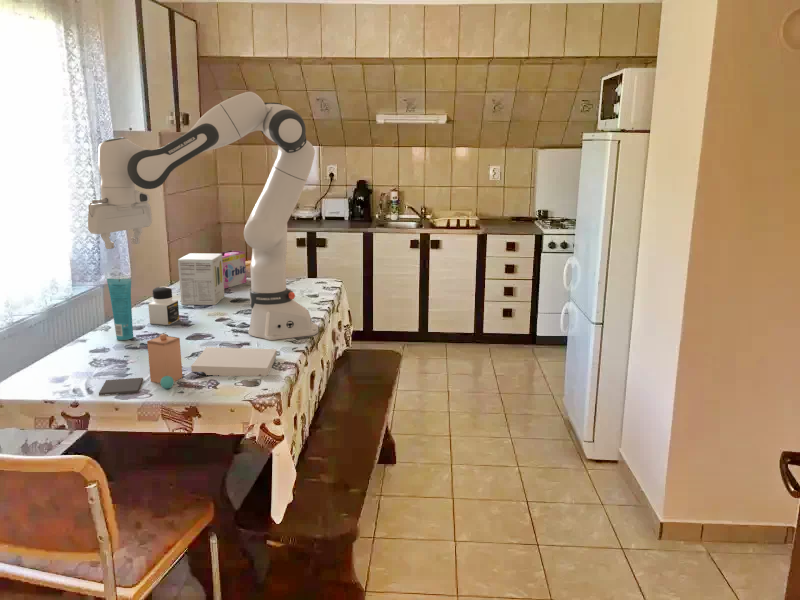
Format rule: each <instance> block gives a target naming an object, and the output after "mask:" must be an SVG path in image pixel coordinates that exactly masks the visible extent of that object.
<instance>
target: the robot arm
mask: <svg viewBox="0 0 800 600" xmlns="http://www.w3.org/2000/svg"><path fill="white" fill-rule="evenodd" d="M257 131H260V132H261V133H262V134H263V135H265V137H266V138H268V140H269V141H272V142H273V143H274V144H276V145H277V156H276V157H275V160H274V162H273V165H272V167H271V169H270V173H269V175H268V177H267V180H266V181H265V184H264V186H263V189H262V191H261V193H260V195H259V196H258V199H257V201H256V202H255V205H254V207H253V209H252V211H251V212H250V215H249V217H248V219H247V221H246V223H245V226H244V229H243V238H244V241H245V242H246V244H247V245H248V247H250V248H251V251H252V252H251V260H250V263H249V264H250V266H249V267H250V286H251V288H250V290H249V291H250V292H249V303H250V308H251V314H250V315H251V316H250V323H249V326H248V327H249V328H248V332H247V333H248V335H250V336H252V337H256V338H260V339H265V340H267V341H275V340H284V339H290V338H292V339H294V338H301V337H309V336H315V335H316V334H319V326H318V324H317V323H316V322H313V321H312V317H311V314H310V312H309V310H308V309H307V308H306V307H304V306H303V305H302V304H300V303H298V301H295V300H294V299H295V297H296V295H295V292H294V291H293V290H291V288H287V267H286V264H287V262H286V261H287V248H288V222H289V220H290V218H291V216H292V214H293V212H294V210H295V208H296V206H297V204H298V201H300V198H301V195H302V193H303V190H304V187H305V186H306V182H307V180H308V178H309V176H310V173H311V170H312V167H313V163H314V158H315V153H316V152H315V151H316V150H315V148H314V146H313V144H312V143H311V142H310V141H309V140H307V135H306V132H307V131H306V123H305V121H304V119H303V116H301V114H299V113H298V112H297V111H295V110H294V109H293V108H292V107H290V106H287V105H284V104H282V103H279V102H264V101H263V99H262V97H261V96H259V95H258V94H257V93H255V92H254V91H245V92H242V93H240V94H236V95H234V96H232V97H229V98H227V99H225V100H223V101H221V102H219V104H216V105H214V106H213V107H212V108H210V109H208V110H207V111H206V112H205V113H204V114H203V115H202V116H201V117H200V118H199V119H198V120H197V121H196V123H194V125H193V126H192V127H191V128H190V129H189V130H188V131H187V132H185V133H184V134H183V135H181V136H179V137H178V138H176V139H173V140H172V141H171V142H169V143H167V144H165V145H163V146H162V147H158V148H155V149H149V148H147V147H143V146H141V145H139V144H137V143H135V142H133V141H131V140H130V139H128V137H125V136H124V137H123V136H120V137H115V138H110V139H109V138H108V139H105V140H103V141H102V142H101V143H100V144H99V145H98V151H97V152H98V153H97V154H98V155H97V158H98V159H97V160H98V162H97V163H98V172H99V174H100V178H101V179H100V194H101V196H100V197H101V198H99V199H92V201H90V202H89V204H88V207H87V208H88V214H87V229H88V231H89V233H90V234H92V235H100V238H101V239H102V241H103V243H104V246H105V249H107V250H108V249H109V250H112V249H114V248H115V242H114V241H112V240H111V239H110V237H111V234H112V233H115V232H123V231H128V230H129V231H130V230H132V232H133V236H132V237H131V238H130V240H131V244H132V245H139V244H140V242H141V241H140V237H141V236H142V233H143V228H148V227H151V224H152V221H153V217H152V209H151V208H152V207H151V205H150V203H149V202H150V200H151V199H150V195H149V194H148V193H146V192H145V193H144V192H141V191H138V190H136V186H137V187H139V188H141V189H144V190H153V189H157V188H159V187H160V186H162V185H163V184H164V183H165V182H166V180H167V179H168V178H169V176H170V174H171V173H172V172H173V171H174V170H175V169H177V168H178V167H179V166H181V165H183V164H185V163H186V162H187V161H190V160H191V159H193V158H194V157H196V156H198V155H200V154H202V153H204V152H208V151H212V150H216V149H219V148H224V147H225V146H229V145H230V144H233V143H235V142H236V141H239V140H240V139H242V138H243V137H246V136H247V135H249V134H250V133H253V132H257Z"/></svg>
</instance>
